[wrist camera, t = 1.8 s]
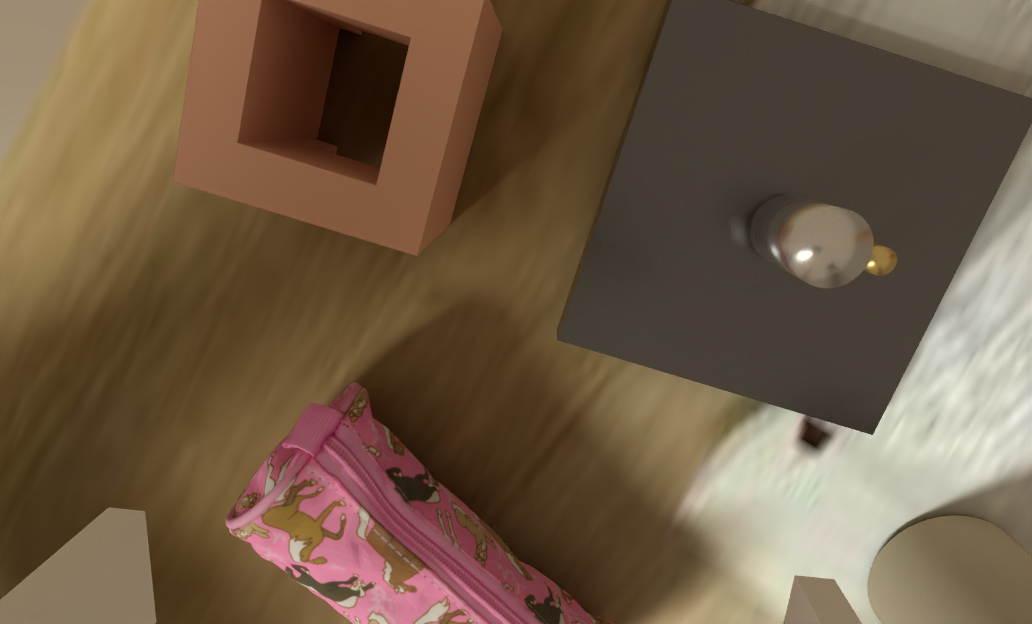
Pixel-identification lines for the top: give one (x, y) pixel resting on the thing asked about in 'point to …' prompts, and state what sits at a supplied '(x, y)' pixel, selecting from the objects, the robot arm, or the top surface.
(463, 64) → the hollow square tube
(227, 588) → the top surface
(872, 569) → the travel mug
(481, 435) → the top surface
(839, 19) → the top surface
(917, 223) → the post plate
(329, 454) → the pencil case
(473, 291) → the top surface
